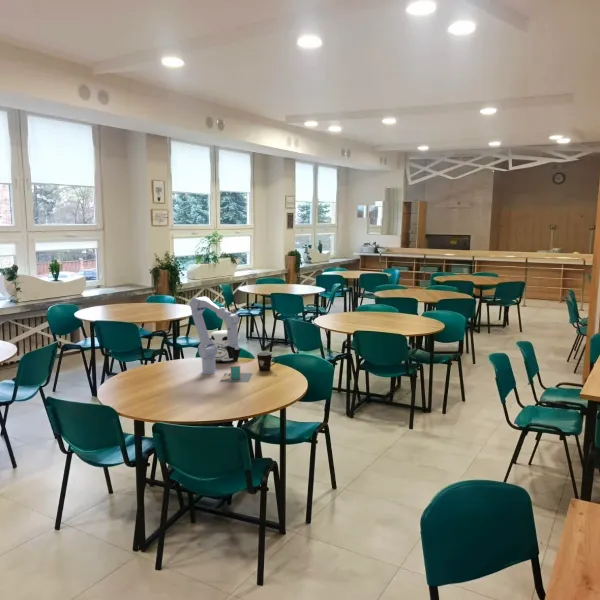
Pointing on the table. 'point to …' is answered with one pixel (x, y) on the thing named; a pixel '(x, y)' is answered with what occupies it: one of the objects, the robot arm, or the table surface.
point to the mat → (244, 378)
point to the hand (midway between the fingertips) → (233, 359)
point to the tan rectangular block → (235, 372)
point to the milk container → (220, 345)
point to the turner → (226, 377)
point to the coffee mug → (265, 361)
